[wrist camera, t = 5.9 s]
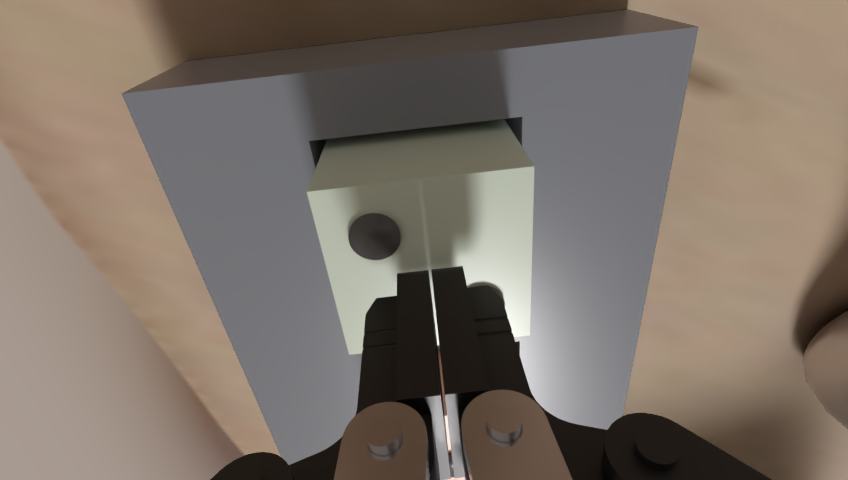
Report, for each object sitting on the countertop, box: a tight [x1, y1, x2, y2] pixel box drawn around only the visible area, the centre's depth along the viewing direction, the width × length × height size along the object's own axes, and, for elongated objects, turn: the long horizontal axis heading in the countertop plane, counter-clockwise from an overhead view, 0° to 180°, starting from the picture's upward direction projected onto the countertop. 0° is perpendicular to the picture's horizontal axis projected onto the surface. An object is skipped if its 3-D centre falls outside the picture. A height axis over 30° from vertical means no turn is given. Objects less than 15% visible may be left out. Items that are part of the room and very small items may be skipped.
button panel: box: [122, 10, 698, 465], centre depth 19 cm, size 25×14×4 cm, turn 6°
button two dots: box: [307, 119, 534, 355], centre depth 13 cm, size 5×5×5 cm
